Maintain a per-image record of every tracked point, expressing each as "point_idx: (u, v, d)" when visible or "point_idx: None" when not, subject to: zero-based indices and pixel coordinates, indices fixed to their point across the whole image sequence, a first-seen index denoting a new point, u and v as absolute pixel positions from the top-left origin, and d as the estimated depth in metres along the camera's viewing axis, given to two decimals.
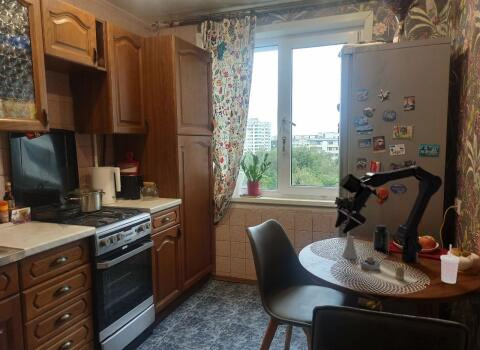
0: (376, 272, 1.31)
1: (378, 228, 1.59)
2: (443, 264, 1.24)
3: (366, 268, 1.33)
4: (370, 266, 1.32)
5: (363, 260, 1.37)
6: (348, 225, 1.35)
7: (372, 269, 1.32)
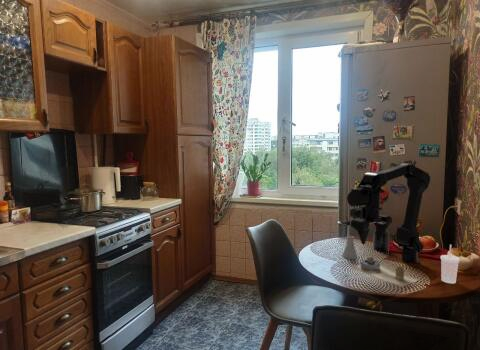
0: (376, 272, 1.31)
1: None
2: (443, 264, 1.24)
3: (366, 268, 1.33)
4: (370, 266, 1.32)
5: (363, 260, 1.37)
6: (360, 235, 1.32)
7: (372, 269, 1.32)
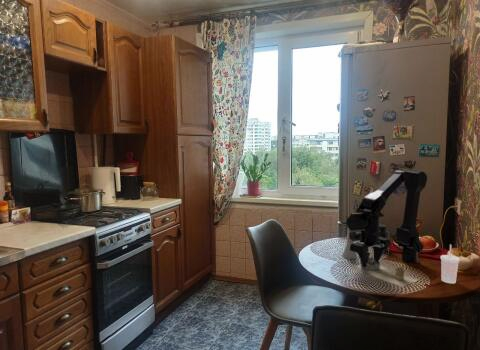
0: (376, 272, 1.31)
1: None
2: (443, 264, 1.24)
3: (366, 268, 1.33)
4: (370, 266, 1.32)
5: None
6: (361, 258, 1.33)
7: (372, 269, 1.32)
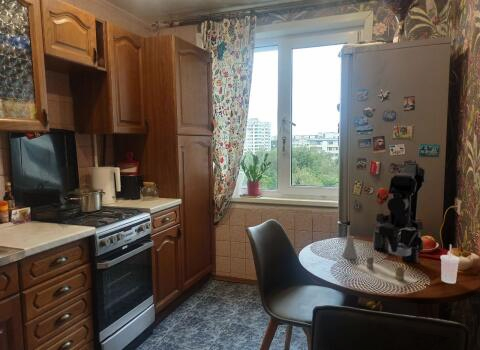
0: (376, 272, 1.31)
1: None
2: (443, 264, 1.24)
3: (396, 253, 1.21)
4: (401, 250, 1.21)
5: None
6: (390, 242, 1.22)
7: (403, 254, 1.21)
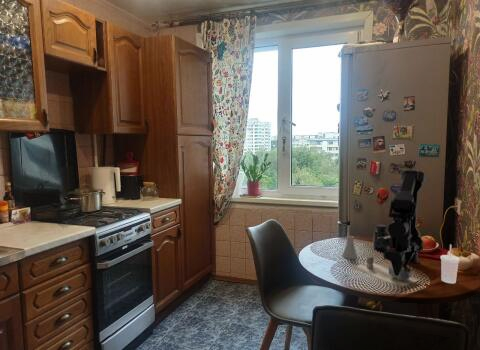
0: (376, 272, 1.31)
1: (378, 228, 1.59)
2: (443, 264, 1.24)
3: (399, 276, 1.22)
4: (404, 273, 1.21)
5: (392, 267, 1.26)
6: (394, 265, 1.21)
7: (406, 277, 1.21)
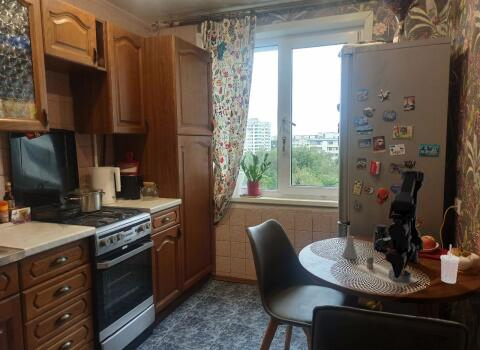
0: (376, 272, 1.31)
1: (378, 228, 1.59)
2: (443, 264, 1.24)
3: (400, 280, 1.22)
4: (404, 277, 1.21)
5: (392, 271, 1.26)
6: (394, 268, 1.20)
7: (406, 280, 1.22)
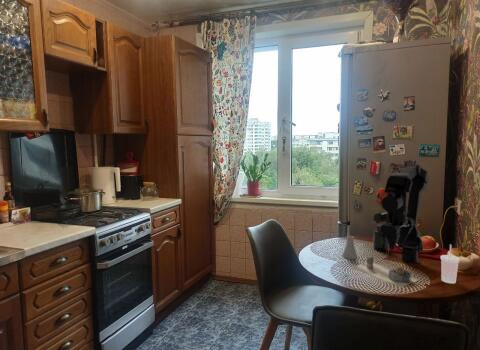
0: (376, 272, 1.31)
1: (378, 228, 1.59)
2: (443, 264, 1.24)
3: (400, 280, 1.22)
4: (404, 277, 1.21)
5: (392, 271, 1.26)
6: (389, 240, 1.25)
7: (406, 280, 1.22)
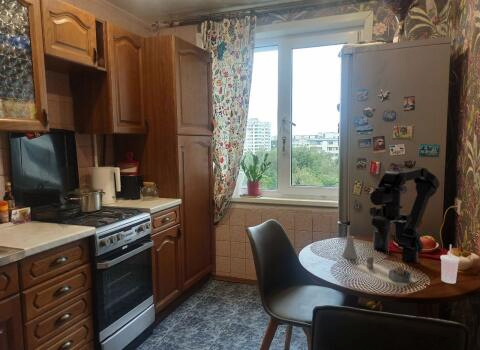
0: (376, 272, 1.31)
1: None
2: (443, 264, 1.24)
3: (400, 280, 1.22)
4: (404, 277, 1.21)
5: (392, 271, 1.26)
6: (380, 233, 1.33)
7: (406, 280, 1.22)
